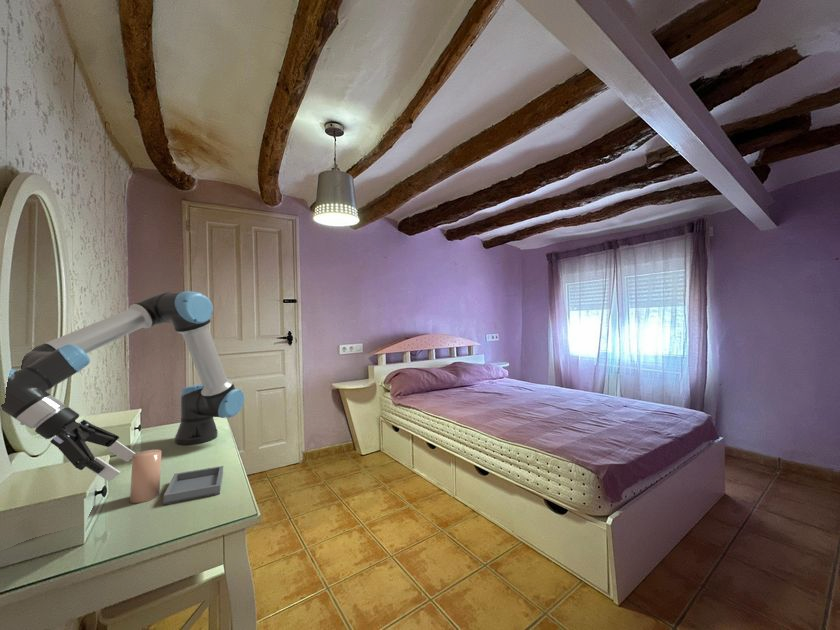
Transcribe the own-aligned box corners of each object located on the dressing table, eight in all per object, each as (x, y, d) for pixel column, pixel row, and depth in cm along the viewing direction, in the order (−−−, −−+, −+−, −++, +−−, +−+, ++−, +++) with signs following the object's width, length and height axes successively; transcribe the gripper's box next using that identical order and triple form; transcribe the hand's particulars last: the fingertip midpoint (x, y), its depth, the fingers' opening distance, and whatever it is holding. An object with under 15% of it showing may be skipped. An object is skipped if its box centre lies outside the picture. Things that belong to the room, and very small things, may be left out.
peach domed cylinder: (149, 490, 97) (151, 448, 98) (165, 493, 95) (167, 451, 96) (124, 500, 91) (126, 456, 92) (140, 504, 89) (143, 459, 90)
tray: (174, 481, 102) (174, 473, 103) (223, 473, 108) (223, 465, 109) (163, 505, 89) (163, 495, 89) (219, 494, 95) (219, 485, 95)
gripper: (60, 417, 94) (126, 462, 101) (2, 445, 72) (91, 500, 78) (86, 397, 97) (149, 441, 103) (37, 418, 75) (121, 473, 81)
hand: (124, 467), depth 91 cm, fingers open, 13 cm apart
